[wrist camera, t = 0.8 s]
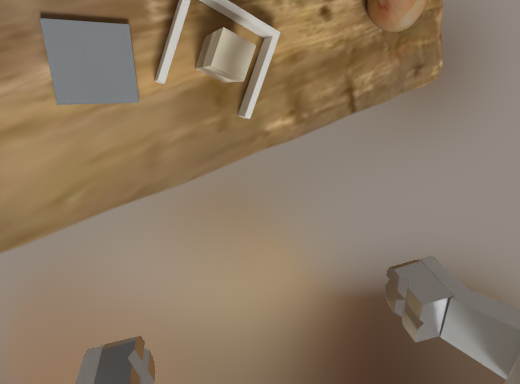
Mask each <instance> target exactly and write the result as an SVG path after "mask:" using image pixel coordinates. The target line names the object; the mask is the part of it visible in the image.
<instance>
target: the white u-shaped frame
mask: <svg viewBox="0 0 520 384" xmlns="http://www.w3.org/2000/svg"><path fill="white" fill-rule="evenodd" d="M190 1H191V0H179V2H178V5H177V8H176V12H175V15H174V18H173V22H172V25H171V28H170V31H169V35H168V38H167V41H166V44H165V48H164V51H163V54H162V57H161V61H160V64H159V67H158V70H157V74H156V77H155V80H154V81H156V82H158V83H161V84H163V83H165V81H166V78H167V74H168V71H169V68H170V65H171V62H172V58H173V55H174V52H175V49H176V46H177V42H178V39H179V36H180V33H181V30H182V26H183V23H184V20H185V17H186V13H187V10H188V7H189V4H190ZM199 1H201V2H203V3H204V4H206V5H208V6H209V7H211V8H213V9H215V10H216V11H218V12H220V13H221V14H223V15H225V16H227V17H228V18H230V19H232V20H233V21H235V22H237V23H239V24H240V25H242V26H244V27H245V28H247V29H249V30H250V31H252V32H254V33H256V34H257V35H259V36H261V37H262V38H264V41H263V44H262V47H261V49H260V52H259V55H258V58H257V61H256V64H255V67H254V70H253V73H252V75H251V78H250V81H249V84H248V87H247V90H246V93H245V96H244V99H243V101H242V104H241V107H240V110H239V113H238V116H240V117H243V118H248V119H250V118H251V115H252V112H253V109H254V106H255V103H256V101H257V98H258V95H259V92H260V89H261V86H262V84H263V81H264V78H265V75H266V72H267V69H268V67H269V64H270V61H271V58H272V55H273V52H274V50H275V47H276V44H277V41H278V38H279V35H280V32H279V31H277V30H275V29H274V28H272V27H270V26H269V25H267V24H266V23H264V22H262V21H261V20H259V19H258V18H256V17H254V16H253V15H251V14H249V13H248V12H246V11H245V10H243V9H241V8H240V7H238V6H236V5H235V4H233V3H232V2H230V1H228V0H199Z"/></svg>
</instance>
